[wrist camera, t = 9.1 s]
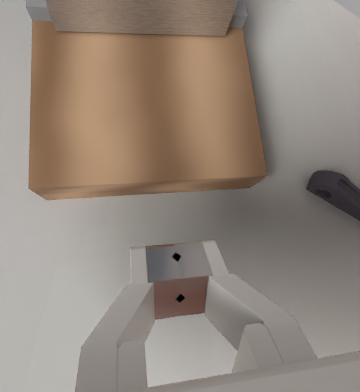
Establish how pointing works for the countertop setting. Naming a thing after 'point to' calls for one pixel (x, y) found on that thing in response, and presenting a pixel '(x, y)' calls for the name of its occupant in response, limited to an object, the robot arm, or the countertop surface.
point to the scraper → (143, 16)
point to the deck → (140, 114)
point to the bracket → (336, 191)
